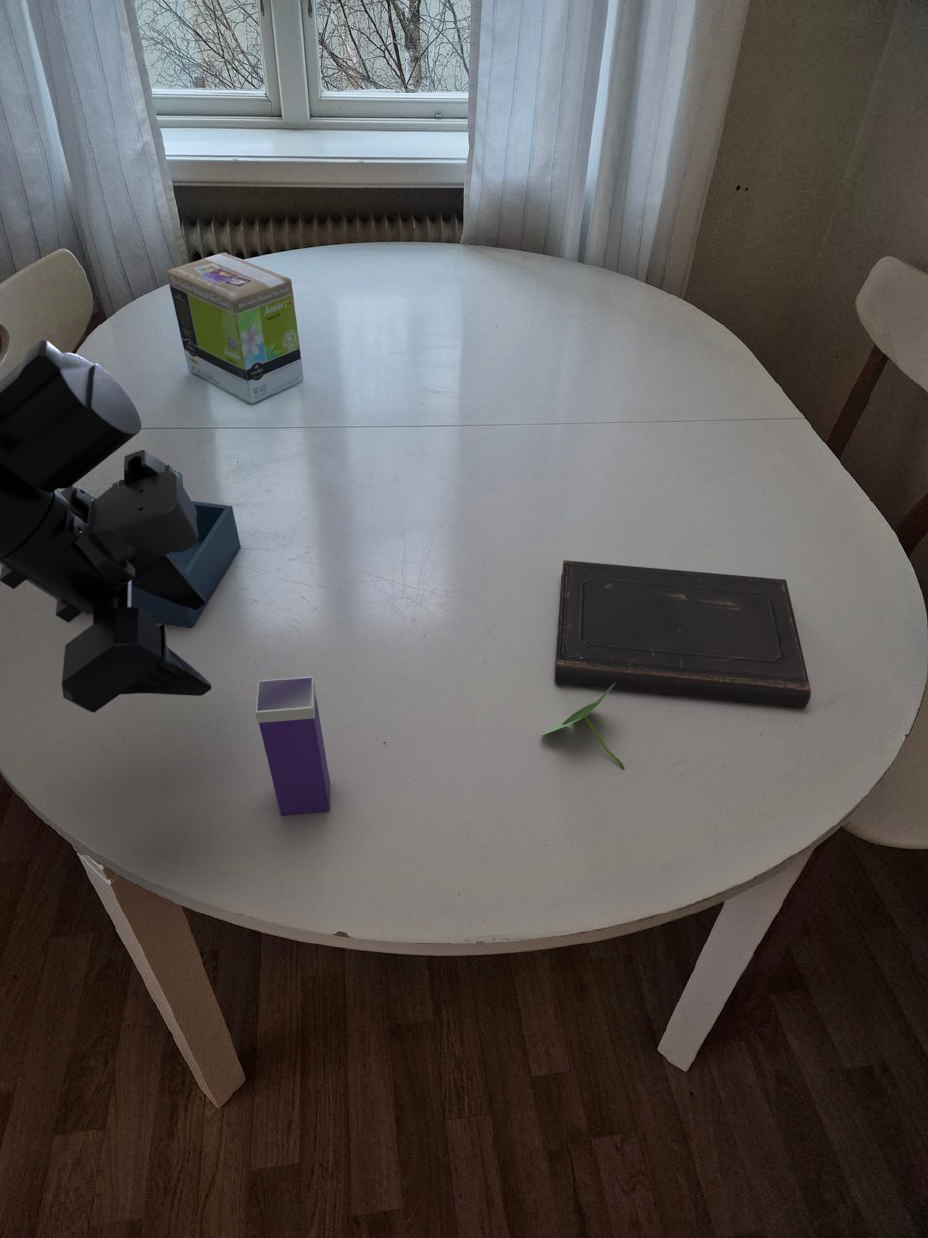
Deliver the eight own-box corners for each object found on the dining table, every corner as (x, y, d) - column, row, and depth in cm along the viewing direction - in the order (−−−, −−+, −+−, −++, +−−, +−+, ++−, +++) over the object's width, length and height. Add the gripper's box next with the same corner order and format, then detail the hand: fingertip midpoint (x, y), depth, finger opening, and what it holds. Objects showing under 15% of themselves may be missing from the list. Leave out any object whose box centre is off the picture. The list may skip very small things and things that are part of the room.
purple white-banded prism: (280, 816, 70) (255, 712, 61) (281, 785, 72) (257, 680, 63) (330, 811, 70) (313, 707, 62) (330, 780, 73) (313, 676, 64)
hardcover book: (561, 576, 92) (563, 559, 91) (780, 595, 90) (786, 579, 89) (553, 686, 81) (556, 669, 79) (804, 711, 79) (812, 694, 77)
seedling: (587, 784, 79) (547, 723, 79) (661, 738, 76) (619, 677, 77) (574, 805, 72) (531, 739, 73) (655, 756, 70) (609, 688, 70)
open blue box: (70, 610, 88) (53, 568, 84) (129, 532, 97) (116, 491, 93) (192, 627, 86) (180, 585, 82) (241, 546, 95) (232, 505, 92)
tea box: (307, 380, 123) (294, 277, 113) (250, 406, 118) (231, 300, 107) (241, 347, 130) (224, 248, 120) (185, 371, 125) (162, 268, 115)
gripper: (112, 539, 45) (303, 678, 56) (119, 374, 58) (273, 512, 69) (-35, 652, 48) (176, 765, 58) (4, 469, 61) (170, 588, 71)
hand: (203, 646), depth 64 cm, fingers open, 9 cm apart
